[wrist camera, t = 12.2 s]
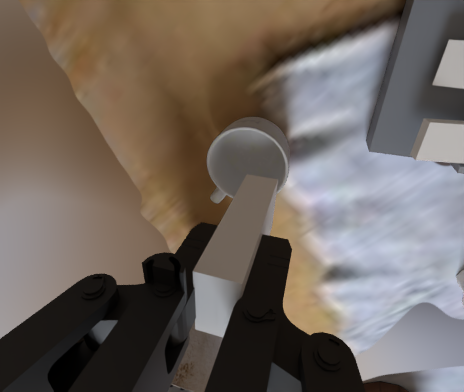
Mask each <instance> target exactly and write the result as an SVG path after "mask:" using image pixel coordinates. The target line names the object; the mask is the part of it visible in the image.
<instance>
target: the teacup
mask: <svg viewBox="0 0 464 392" xmlns="http://www.w3.org/2000/svg"><path fill="white" fill-rule="evenodd" d="M207 169H208V172H209V175H210V177H211V179H212V180H213V182H214V183H215V185H216V186H217V188H216V189H215V190H214V192H213V193H212V194H211V196H210V199H211V200H212V201H213V202H214V203H217V204H218V203H220V202H221V201H222V200H223V198H224V197H225V196H226V195H228V196H229V197H231V198H234V196H235V195H236V193H237V191H238V189H239V187H240V186H241V184H242V182H243V180H244V178H245V177H246V175H247V174H248V175H254V176H260V177H266V178H272V179H278V185H277V192H276V194H277V193H278V192H279V191H280V190H281V189H282V188H283V186H284V185H285V183H286V181H287V178H288V173H289V146H288V142H287V139H286V137H285V135H284V134H283V132H282V131H281V130H280V129H279V128H278V127H277V126H276V125H275V124H274V123H272V122H271V121H268V120H266V119H263V118H260V117H245V118H241V119H239V120H236V121H234V122H233V123H231V124H230V125H229V126H227V127H226V128H225V129H224V130H223V131H222V132H221V134H220V135H219V136H217V137H216V138H215V140H214V141H213V142H212V144H211V146H210V148H209V150H208V154H207Z"/></svg>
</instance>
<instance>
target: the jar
mask: <svg viewBox="0 0 464 392" xmlns="http://www.w3.org/2000/svg"><path fill="white" fill-rule="evenodd" d="M456 278H457V282H458V284H459V286H460V288H461V289H462V292H463V300H462V304H463V307H464V270H462V271H461V272H460V273H459V274H458V275H457V276H456Z"/></svg>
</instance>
